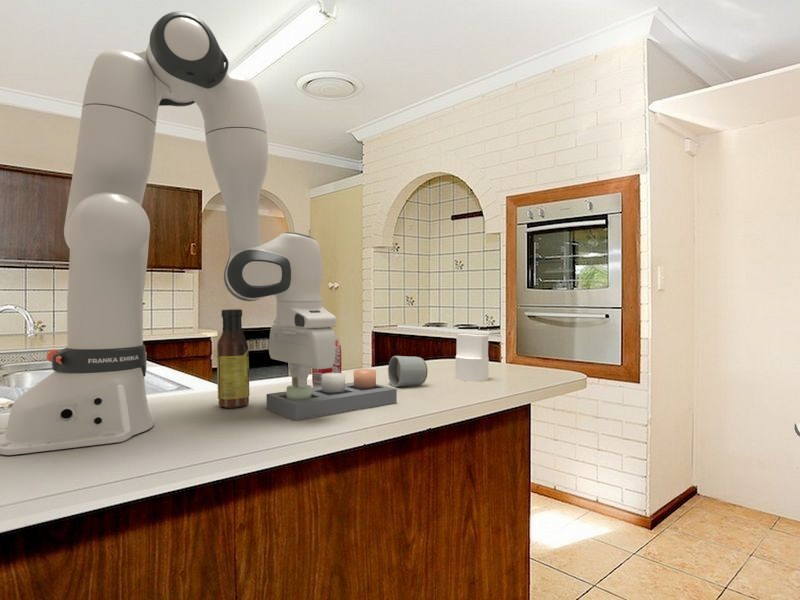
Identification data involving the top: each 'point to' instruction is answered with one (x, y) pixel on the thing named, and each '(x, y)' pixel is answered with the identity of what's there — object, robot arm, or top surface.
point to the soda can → (334, 369)
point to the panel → (331, 401)
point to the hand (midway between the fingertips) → (299, 386)
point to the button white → (333, 382)
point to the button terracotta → (364, 378)
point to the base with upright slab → (472, 357)
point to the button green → (298, 392)
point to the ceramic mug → (407, 371)
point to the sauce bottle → (232, 362)
